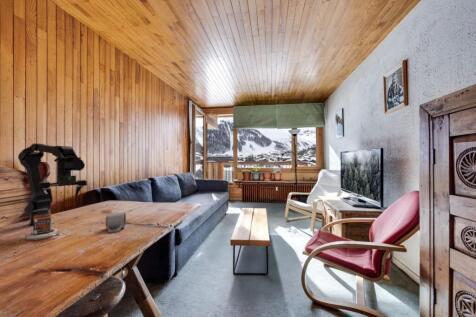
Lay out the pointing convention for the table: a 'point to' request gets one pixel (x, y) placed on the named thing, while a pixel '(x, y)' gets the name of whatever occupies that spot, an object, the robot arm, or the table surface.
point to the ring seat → (39, 237)
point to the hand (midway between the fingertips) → (63, 200)
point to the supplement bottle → (42, 222)
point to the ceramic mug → (116, 221)
